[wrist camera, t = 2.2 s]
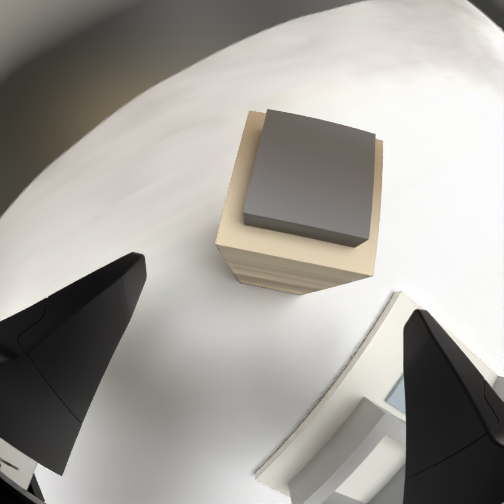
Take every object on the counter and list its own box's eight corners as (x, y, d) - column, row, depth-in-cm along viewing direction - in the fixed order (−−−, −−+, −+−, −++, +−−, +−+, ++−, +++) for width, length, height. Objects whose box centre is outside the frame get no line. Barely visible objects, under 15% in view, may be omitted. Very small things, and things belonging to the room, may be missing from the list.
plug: (301, 294, 19) (389, 271, 6) (239, 282, 19) (209, 234, 6) (312, 234, 20) (395, 122, 7) (252, 222, 20) (248, 88, 7)
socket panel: (430, 535, 14) (449, 556, 10) (255, 472, 17) (255, 508, 12) (525, 408, 16) (554, 415, 12) (395, 291, 19) (429, 287, 14)
